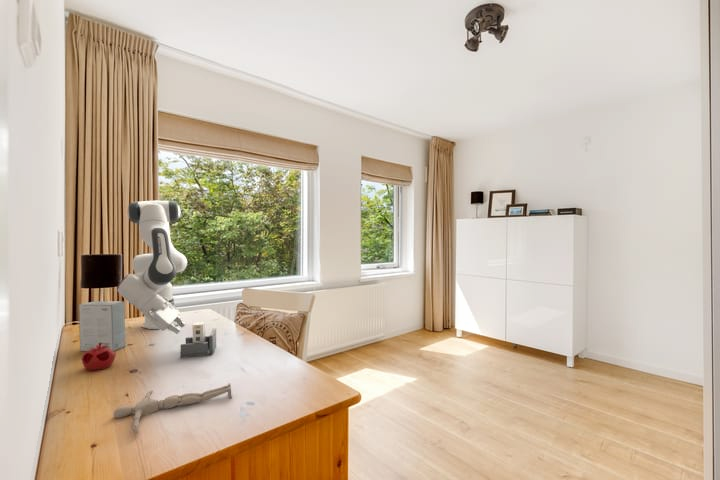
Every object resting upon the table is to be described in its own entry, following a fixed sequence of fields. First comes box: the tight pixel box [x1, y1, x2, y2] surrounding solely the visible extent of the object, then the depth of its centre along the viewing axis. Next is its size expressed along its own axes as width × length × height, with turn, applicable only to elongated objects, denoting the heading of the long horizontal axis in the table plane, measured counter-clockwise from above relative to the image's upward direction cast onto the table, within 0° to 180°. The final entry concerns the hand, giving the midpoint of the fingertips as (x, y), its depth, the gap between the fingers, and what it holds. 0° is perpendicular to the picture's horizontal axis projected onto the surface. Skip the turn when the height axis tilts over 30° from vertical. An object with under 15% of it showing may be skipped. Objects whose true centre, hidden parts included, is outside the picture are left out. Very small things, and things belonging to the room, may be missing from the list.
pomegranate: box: [81, 342, 116, 371], centre depth 131 cm, size 10×10×9 cm
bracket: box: [179, 328, 217, 358], centre depth 147 cm, size 11×12×8 cm
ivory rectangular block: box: [192, 321, 206, 343], centre depth 147 cm, size 5×4×11 cm
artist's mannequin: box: [113, 383, 233, 435], centre depth 101 cm, size 28×4×30 cm
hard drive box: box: [78, 300, 127, 352], centre depth 152 cm, size 16×8×20 cm, turn 84°
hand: (181, 329), depth 145 cm, fingers open, 8 cm apart
